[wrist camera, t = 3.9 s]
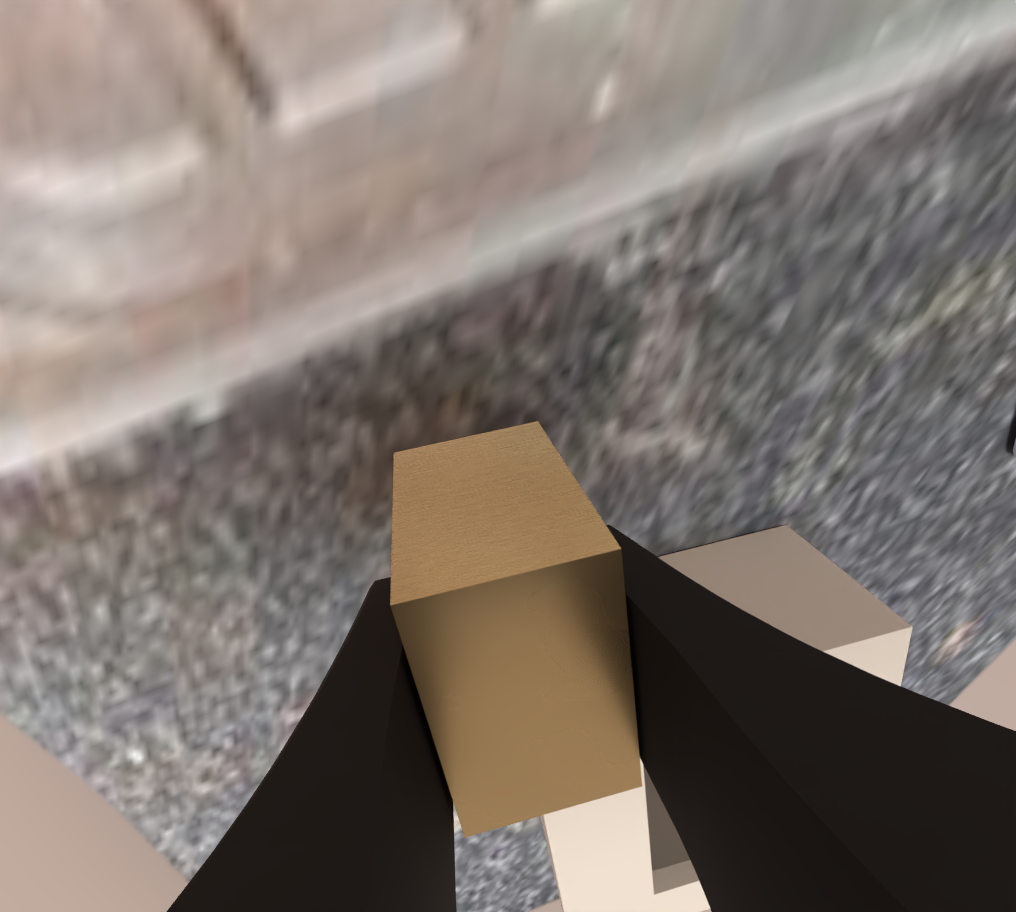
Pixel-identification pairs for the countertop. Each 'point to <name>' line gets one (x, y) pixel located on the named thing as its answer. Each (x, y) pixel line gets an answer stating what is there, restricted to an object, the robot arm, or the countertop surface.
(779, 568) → the box
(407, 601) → the block
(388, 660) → the robot arm
